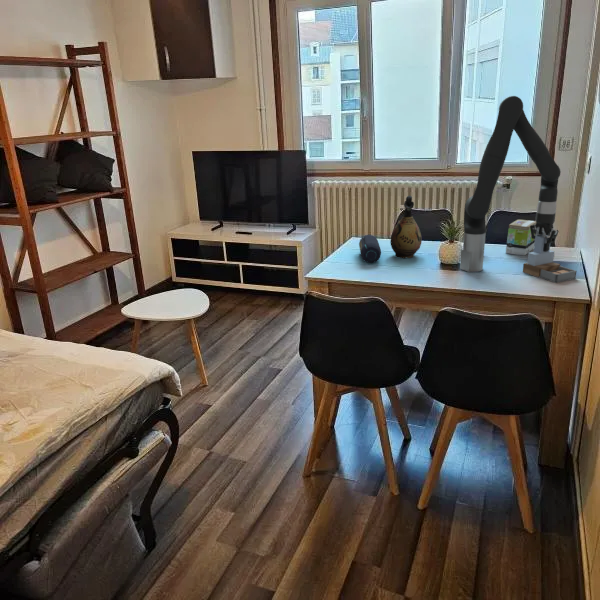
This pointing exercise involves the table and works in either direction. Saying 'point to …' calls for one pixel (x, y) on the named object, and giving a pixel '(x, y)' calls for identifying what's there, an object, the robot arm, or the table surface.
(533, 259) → the scraper block
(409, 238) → the ceramic jug
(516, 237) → the tea box
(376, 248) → the portable speaker
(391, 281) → the table surface
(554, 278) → the tray
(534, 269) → the flat wooden box
